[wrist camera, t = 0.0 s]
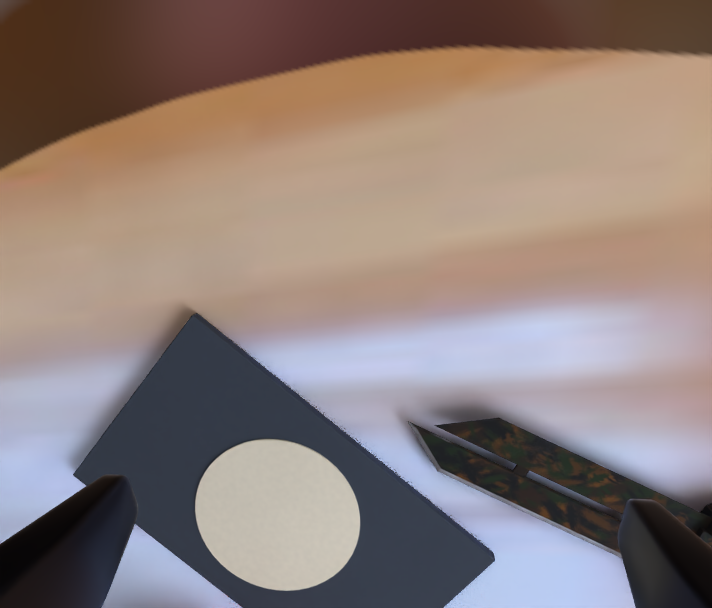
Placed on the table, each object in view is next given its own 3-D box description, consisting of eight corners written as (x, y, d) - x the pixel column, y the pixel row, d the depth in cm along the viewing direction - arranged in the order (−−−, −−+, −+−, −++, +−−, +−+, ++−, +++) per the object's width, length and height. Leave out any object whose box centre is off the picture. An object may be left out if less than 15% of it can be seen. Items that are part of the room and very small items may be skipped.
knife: (394, 438, 25) (393, 452, 24) (461, 335, 24) (464, 343, 22) (814, 684, 25) (837, 711, 24) (908, 596, 24) (938, 620, 23)
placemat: (351, 682, 29) (350, 694, 28) (79, 469, 28) (71, 476, 27) (493, 552, 26) (496, 562, 25) (197, 312, 25) (191, 315, 24)
